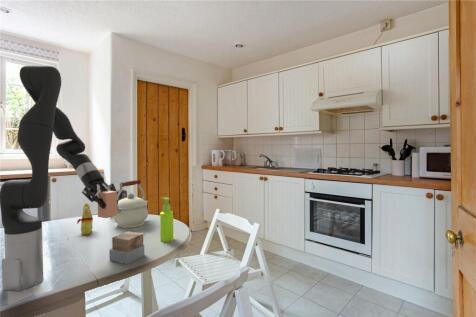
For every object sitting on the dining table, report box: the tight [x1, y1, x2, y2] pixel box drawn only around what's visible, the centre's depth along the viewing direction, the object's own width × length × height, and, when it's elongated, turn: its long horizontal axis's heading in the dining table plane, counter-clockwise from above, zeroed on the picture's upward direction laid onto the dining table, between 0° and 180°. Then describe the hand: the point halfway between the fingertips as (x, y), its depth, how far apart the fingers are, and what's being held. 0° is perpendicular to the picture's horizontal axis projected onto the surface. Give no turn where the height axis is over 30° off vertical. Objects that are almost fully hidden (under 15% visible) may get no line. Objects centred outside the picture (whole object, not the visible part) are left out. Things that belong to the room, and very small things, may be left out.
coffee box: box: [116, 189, 128, 201], centre depth 165 cm, size 9×6×16 cm
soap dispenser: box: [159, 196, 174, 243], centre depth 121 cm, size 6×7×20 cm
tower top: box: [111, 230, 144, 252], centre depth 102 cm, size 8×8×4 cm
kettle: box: [112, 179, 149, 229], centre depth 147 cm, size 25×18×25 cm
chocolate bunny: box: [76, 203, 94, 236], centre depth 132 cm, size 7×11×15 cm, turn 24°
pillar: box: [97, 191, 117, 219], centre depth 105 cm, size 5×5×10 cm
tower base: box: [108, 244, 146, 265], centre depth 101 cm, size 9×9×4 cm
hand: (110, 205), depth 104 cm, fingers closed on pillar, 5 cm apart
